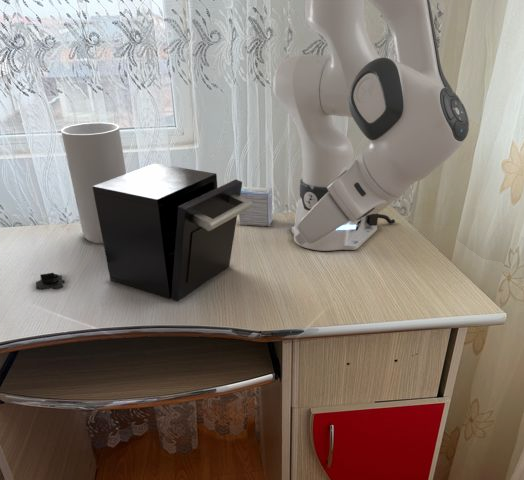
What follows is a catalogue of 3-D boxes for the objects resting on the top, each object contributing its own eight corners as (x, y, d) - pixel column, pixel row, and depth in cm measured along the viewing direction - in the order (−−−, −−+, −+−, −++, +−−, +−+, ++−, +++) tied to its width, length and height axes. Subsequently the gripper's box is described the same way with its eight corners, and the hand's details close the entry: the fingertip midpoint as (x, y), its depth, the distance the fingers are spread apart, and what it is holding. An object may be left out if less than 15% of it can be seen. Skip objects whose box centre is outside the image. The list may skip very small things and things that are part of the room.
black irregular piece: (33, 270, 112) (61, 265, 114) (36, 280, 114) (63, 275, 115) (34, 282, 108) (63, 277, 109) (37, 292, 109) (65, 287, 111)
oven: (222, 265, 118) (216, 173, 107) (170, 299, 106) (157, 199, 94) (165, 250, 125) (155, 163, 114) (110, 281, 113) (92, 186, 101)
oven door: (245, 275, 116) (261, 190, 104) (194, 311, 104) (205, 219, 91) (223, 264, 118) (235, 179, 105) (170, 298, 105) (178, 206, 93)
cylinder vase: (82, 247, 128) (59, 136, 114) (84, 228, 138) (63, 124, 124) (136, 241, 130) (119, 132, 116) (134, 223, 140) (118, 121, 126)
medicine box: (272, 220, 140) (272, 187, 135) (269, 227, 137) (268, 193, 132) (243, 218, 142) (242, 186, 137) (239, 225, 138) (237, 191, 133)
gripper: (382, 151, 89) (325, 200, 99) (328, 184, 75) (268, 237, 85) (404, 182, 90) (346, 227, 100) (355, 220, 75) (293, 269, 85)
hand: (310, 232), depth 92 cm, fingers open, 6 cm apart
